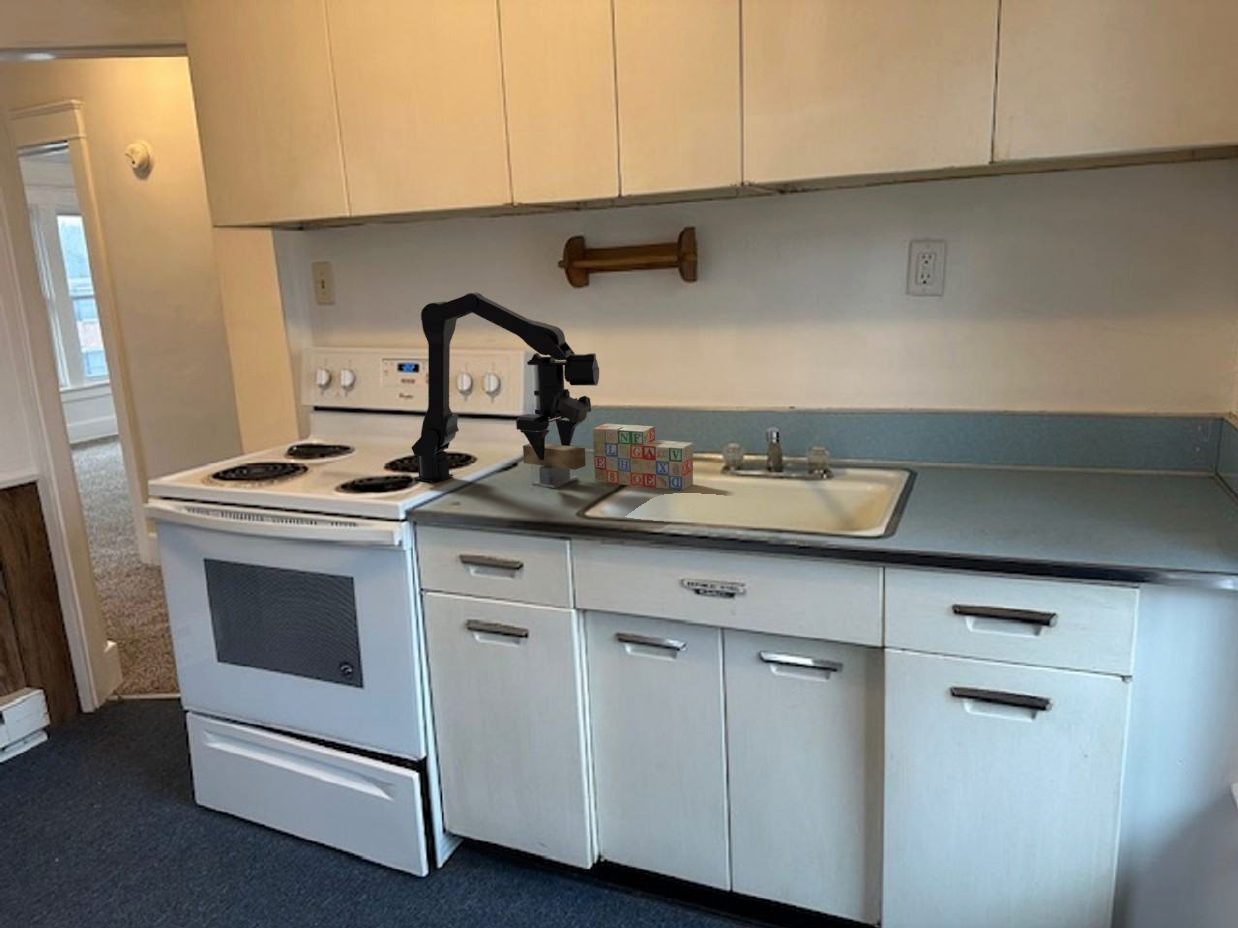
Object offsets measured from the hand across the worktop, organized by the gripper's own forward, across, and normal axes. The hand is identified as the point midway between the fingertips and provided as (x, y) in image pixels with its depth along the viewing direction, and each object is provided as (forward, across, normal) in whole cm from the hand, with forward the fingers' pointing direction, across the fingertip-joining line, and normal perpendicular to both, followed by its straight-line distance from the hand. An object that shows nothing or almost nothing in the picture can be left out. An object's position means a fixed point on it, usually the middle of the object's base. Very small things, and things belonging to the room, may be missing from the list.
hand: (554, 455), depth 191 cm
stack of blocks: (+6, +8, -18) cm, 21 cm away
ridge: (+6, 0, 0) cm, 6 cm away
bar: (+2, 0, 0) cm, 2 cm away
